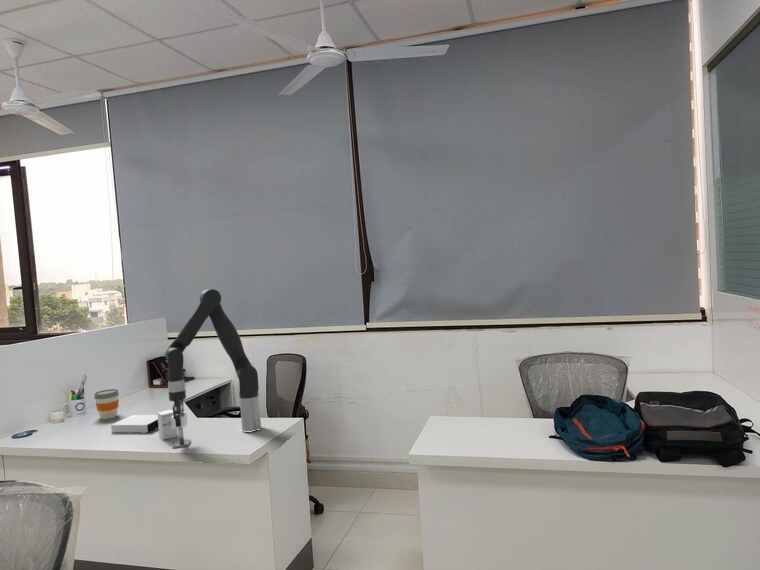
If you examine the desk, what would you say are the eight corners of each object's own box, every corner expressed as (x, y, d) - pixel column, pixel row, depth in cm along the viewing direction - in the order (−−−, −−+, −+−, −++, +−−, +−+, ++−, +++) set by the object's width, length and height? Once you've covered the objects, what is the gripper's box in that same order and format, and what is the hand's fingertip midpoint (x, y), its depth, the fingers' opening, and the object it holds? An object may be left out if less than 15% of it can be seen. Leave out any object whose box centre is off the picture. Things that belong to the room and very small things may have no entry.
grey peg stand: (190, 441, 253) (188, 421, 252) (188, 446, 246) (186, 425, 246) (175, 443, 252) (173, 423, 251) (172, 448, 245) (170, 427, 244)
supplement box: (162, 440, 258) (160, 415, 257) (159, 436, 264) (156, 412, 263) (178, 436, 262) (176, 411, 261) (174, 433, 268) (172, 408, 267)
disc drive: (149, 434, 271) (148, 424, 271) (111, 433, 276) (110, 424, 275) (169, 423, 288) (168, 414, 288) (133, 423, 293) (132, 414, 293)
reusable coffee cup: (124, 413, 313) (122, 388, 312) (112, 419, 301) (109, 394, 300) (105, 414, 314) (102, 389, 314) (91, 420, 302) (89, 395, 301)
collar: (187, 423, 252) (186, 412, 252) (185, 426, 246) (184, 416, 246) (174, 424, 251) (173, 414, 250) (171, 428, 245) (170, 417, 245)
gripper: (182, 392, 241) (185, 428, 242) (187, 385, 255) (190, 419, 256) (165, 394, 240) (168, 430, 241) (171, 387, 254) (174, 421, 255)
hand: (179, 424), depth 248 cm, fingers closed on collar, 6 cm apart
